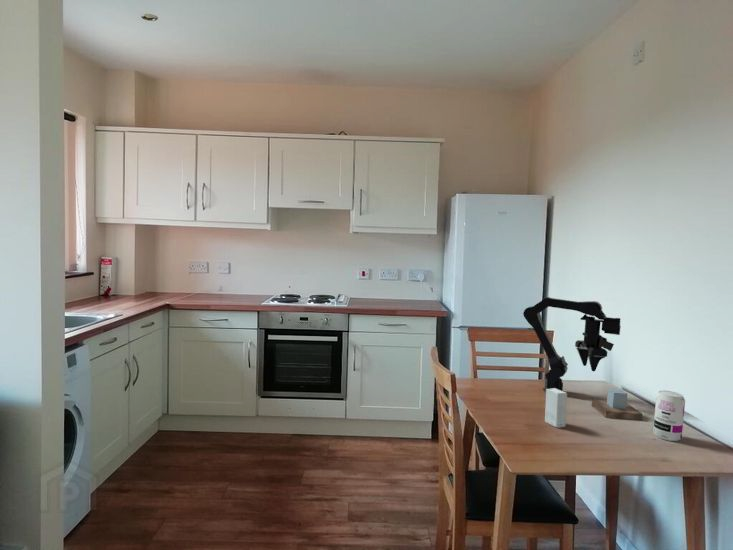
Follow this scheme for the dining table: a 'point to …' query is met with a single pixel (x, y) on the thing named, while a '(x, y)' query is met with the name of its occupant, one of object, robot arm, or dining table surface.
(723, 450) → the dining table surface
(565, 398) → the skincare box
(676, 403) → the supplement can
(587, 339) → the robot arm
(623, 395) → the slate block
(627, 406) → the walnut base
